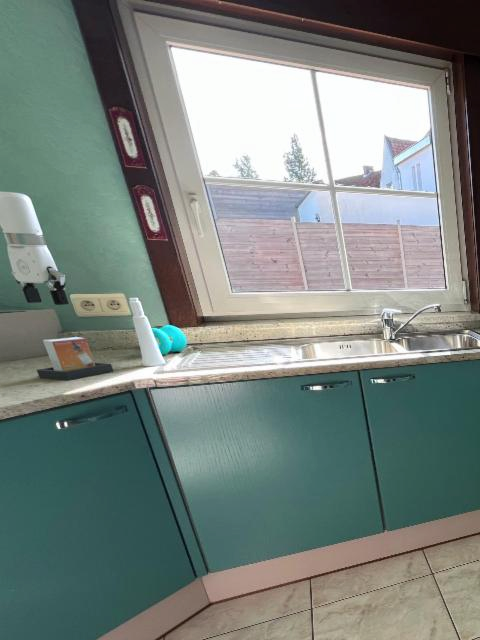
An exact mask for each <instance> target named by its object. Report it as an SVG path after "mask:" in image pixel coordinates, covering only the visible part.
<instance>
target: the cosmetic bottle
mask: <svg viewBox="0 0 480 640" xmlns="http://www.w3.org/2000/svg"><path fill="white" fill-rule="evenodd" d="M128 299H129V301H128V303H129V306H130V310H131V313H132V315H133V316H132V322H133V326H134V329H135V333H136V337H137V341H138V345H139V349H140V354H141V360H142V361H141V362H142V366H144V367H159V366H163V365H166V364H167V362H166V360H165V358H164V356H163V355H162V354H161V352H160V350H159V348H158V345H157V343H158V342H157V343H156V341H157V339H156V340H155V337H154V335H153V332H152V329H151V328H152V327H151V324H150V321H149V319H148V317H147V316H146V315H145V312H144V309H143V306H142V302H141V301H140V300H139V297H129V298H128Z"/></svg>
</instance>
